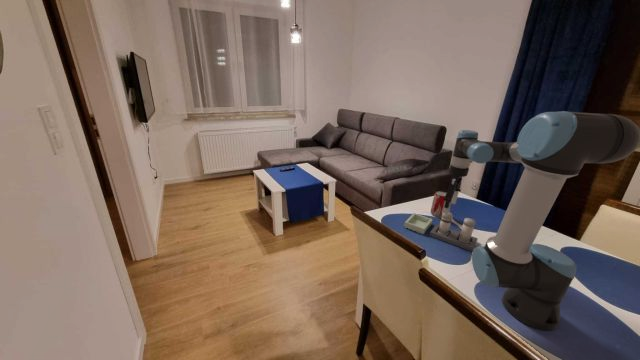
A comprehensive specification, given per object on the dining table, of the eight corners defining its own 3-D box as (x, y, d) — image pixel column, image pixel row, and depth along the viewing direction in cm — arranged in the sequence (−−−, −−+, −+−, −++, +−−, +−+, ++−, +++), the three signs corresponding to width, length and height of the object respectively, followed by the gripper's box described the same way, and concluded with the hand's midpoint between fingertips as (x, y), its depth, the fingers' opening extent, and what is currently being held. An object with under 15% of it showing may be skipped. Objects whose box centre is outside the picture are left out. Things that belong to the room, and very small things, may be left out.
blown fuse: (446, 238, 124) (451, 217, 120) (436, 235, 127) (441, 213, 122) (448, 234, 128) (454, 213, 123) (438, 231, 130) (443, 210, 126)
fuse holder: (472, 251, 115) (480, 228, 111) (429, 235, 126) (434, 214, 122) (476, 241, 123) (483, 219, 118) (435, 227, 134) (440, 206, 129)
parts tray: (423, 234, 127) (424, 229, 126) (403, 227, 132) (404, 222, 131) (431, 224, 136) (432, 219, 135) (412, 217, 142) (413, 212, 141)
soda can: (427, 212, 148) (431, 191, 144) (436, 210, 151) (441, 190, 147) (437, 218, 143) (442, 197, 138) (446, 216, 145) (451, 195, 141)
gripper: (463, 175, 103) (450, 221, 111) (474, 161, 121) (463, 201, 129) (443, 170, 107) (432, 215, 115) (457, 157, 125) (447, 197, 133)
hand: (448, 208), depth 122 cm, fingers open, 13 cm apart
